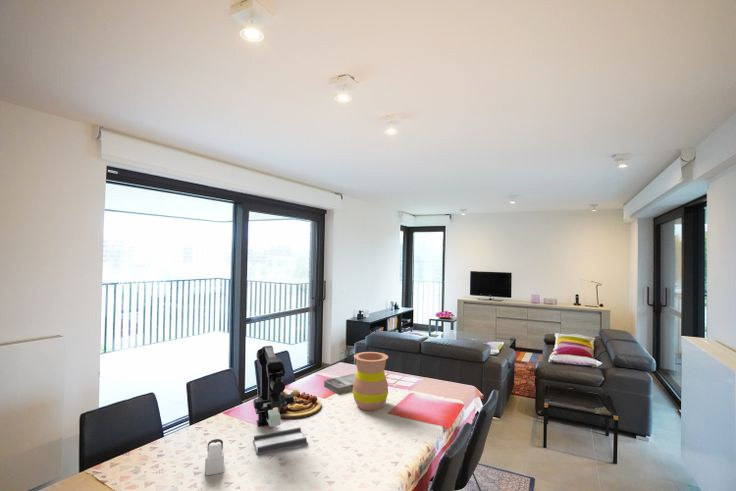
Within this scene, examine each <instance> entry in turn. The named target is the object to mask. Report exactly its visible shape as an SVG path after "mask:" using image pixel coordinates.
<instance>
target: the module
mask: <svg viewBox="0 0 736 491" xmlns="http://www.w3.org/2000/svg"><path fill="white" fill-rule="evenodd" d="M281 421H282V418H281V415H280V413H279V412H278V410H277V409H273V410H268V420H267V422H268V424H269V425H268V426H269V428H270V427H275V426H276V427H277V426H280V425H281Z"/></svg>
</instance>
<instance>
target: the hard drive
mask: <svg viewBox="0 0 736 491" xmlns="http://www.w3.org/2000/svg"><path fill="white" fill-rule="evenodd" d="M356 374H357V373H351V374H347V375H342V376H338V377H337V376H335V377H333V378H328V379H327V378H326V379H324V380H323V386H324V388H326V389H327V390H329V391H331V392H333V393H334V394H336V395H339V394H344V393H348V392H351V391H352V392H353V382H354V380H355V377H356Z"/></svg>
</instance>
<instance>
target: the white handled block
mask: <svg viewBox="0 0 736 491" xmlns="http://www.w3.org/2000/svg"><path fill="white" fill-rule="evenodd" d="M204 460H205V462H204V463H205V464H204V467H205V469H204V476H212V475H219V474H222V473H224V467H225V465H224V464H225V448H224V441H223V440H222V439H219V438H216V439H212V440H210V441H208V443H207V450H206V452H205V459H204Z"/></svg>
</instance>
